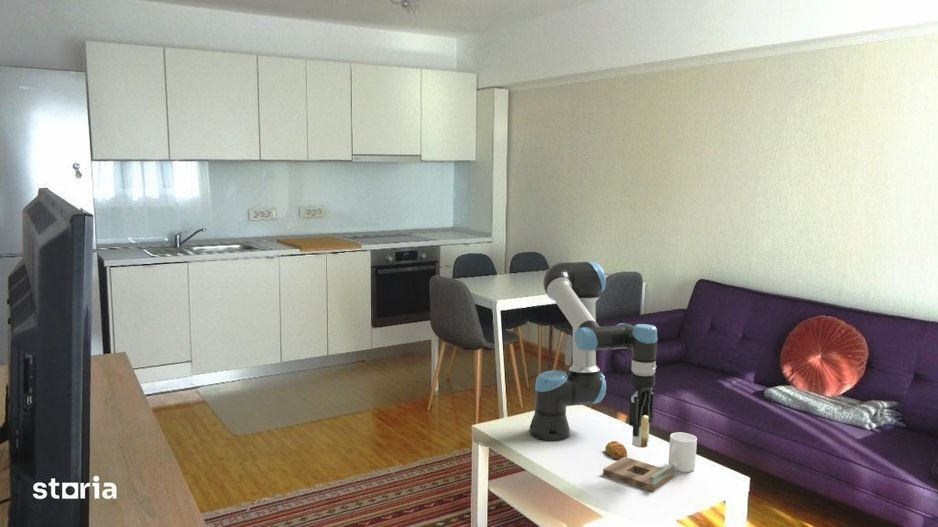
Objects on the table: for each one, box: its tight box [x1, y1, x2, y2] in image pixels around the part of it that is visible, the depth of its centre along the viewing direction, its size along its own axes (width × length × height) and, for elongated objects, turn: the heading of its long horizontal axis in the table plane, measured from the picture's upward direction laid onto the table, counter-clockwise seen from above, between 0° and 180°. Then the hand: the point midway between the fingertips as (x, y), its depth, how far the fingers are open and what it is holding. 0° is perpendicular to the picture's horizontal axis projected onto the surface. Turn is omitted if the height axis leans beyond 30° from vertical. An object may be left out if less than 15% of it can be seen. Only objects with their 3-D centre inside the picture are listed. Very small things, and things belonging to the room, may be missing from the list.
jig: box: [602, 456, 675, 492], centre depth 232 cm, size 18×14×4 cm
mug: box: [668, 431, 698, 473], centre depth 239 cm, size 9×12×11 cm
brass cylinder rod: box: [633, 413, 649, 449], centre depth 230 cm, size 4×4×10 cm
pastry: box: [604, 440, 628, 461], centre depth 250 cm, size 9×7×4 cm
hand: (640, 443), depth 231 cm, fingers closed on brass cylinder rod, 4 cm apart
